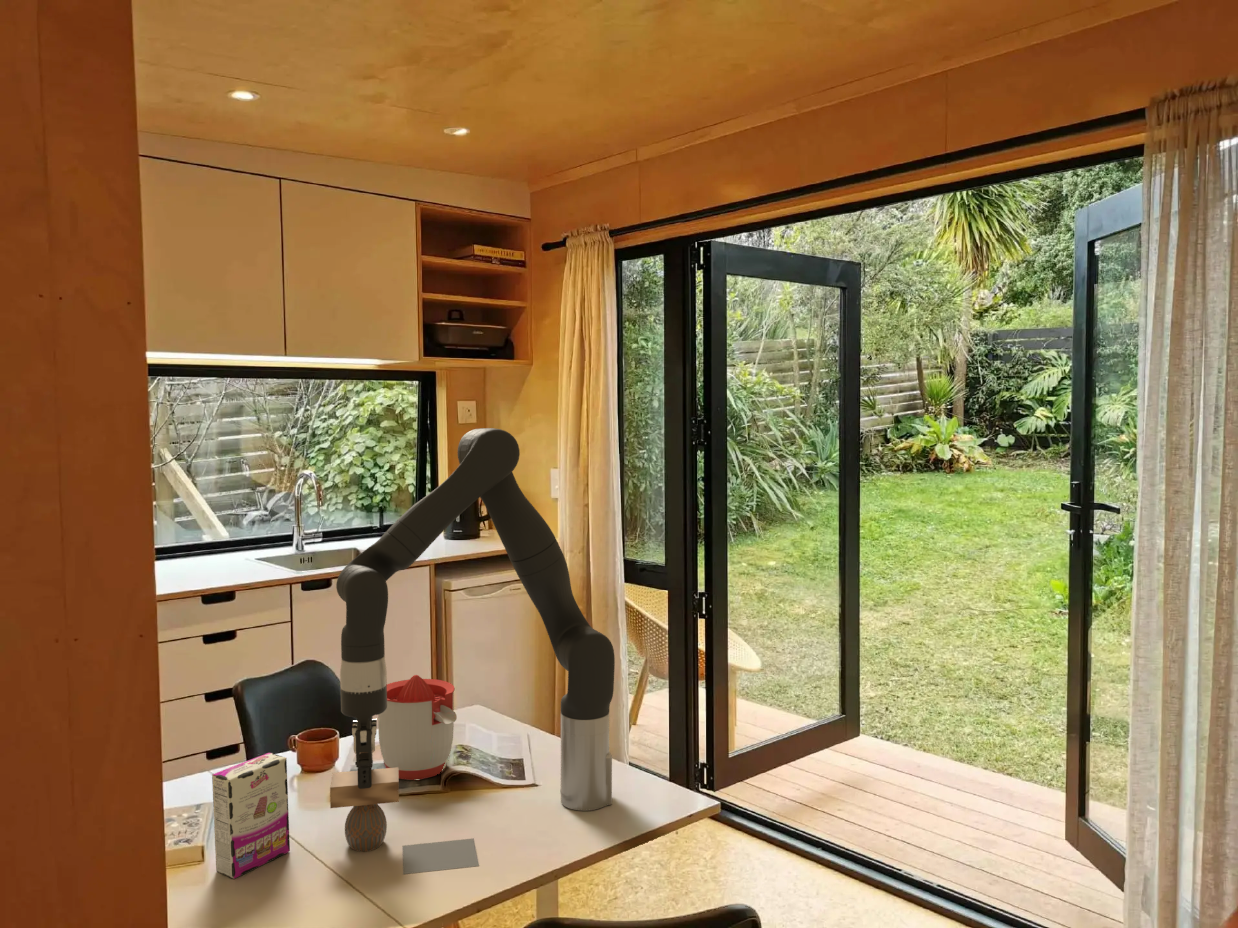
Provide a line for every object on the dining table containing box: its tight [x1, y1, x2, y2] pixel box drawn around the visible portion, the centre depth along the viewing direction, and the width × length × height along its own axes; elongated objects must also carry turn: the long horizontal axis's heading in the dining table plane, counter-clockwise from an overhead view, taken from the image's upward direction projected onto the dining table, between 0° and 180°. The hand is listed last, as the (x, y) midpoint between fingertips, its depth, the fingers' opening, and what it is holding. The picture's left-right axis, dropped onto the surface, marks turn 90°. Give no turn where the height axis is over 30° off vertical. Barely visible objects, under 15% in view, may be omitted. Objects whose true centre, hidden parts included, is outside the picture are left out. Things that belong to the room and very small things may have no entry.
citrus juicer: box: [377, 674, 457, 781], centre depth 195 cm, size 16×17×20 cm
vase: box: [344, 804, 388, 852], centre depth 162 cm, size 7×7×9 cm
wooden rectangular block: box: [329, 767, 400, 809], centre depth 161 cm, size 11×6×4 cm, turn 103°
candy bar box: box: [211, 752, 291, 880], centre depth 156 cm, size 11×5×16 cm, turn 148°
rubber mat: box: [402, 837, 480, 875], centre depth 158 cm, size 12×10×1 cm
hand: (365, 777), depth 161 cm, fingers open, 8 cm apart
